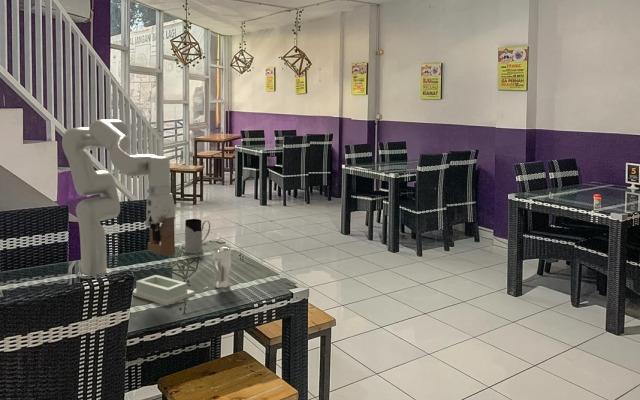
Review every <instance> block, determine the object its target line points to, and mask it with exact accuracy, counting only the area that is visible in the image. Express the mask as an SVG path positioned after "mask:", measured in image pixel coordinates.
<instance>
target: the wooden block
mask: <svg viewBox="0 0 640 400" xmlns="http://www.w3.org/2000/svg"><path fill="white" fill-rule="evenodd" d="M160 224H161V225H160ZM154 226H155V225H154ZM158 231H160V241H159V242H157V241H153V235H152V230H151V229H150V228H149V241H148V242H147V252H149V253H153V254H157V255H161V256H165V257H171V256H174V255H175V254H176V251H175V250H176V245H175V244H176V242H175V235H176V234H175V220H174V217H171V218H167V219H166V220H165V221H164V222H163V224H162V223H159V229H158Z"/></svg>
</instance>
